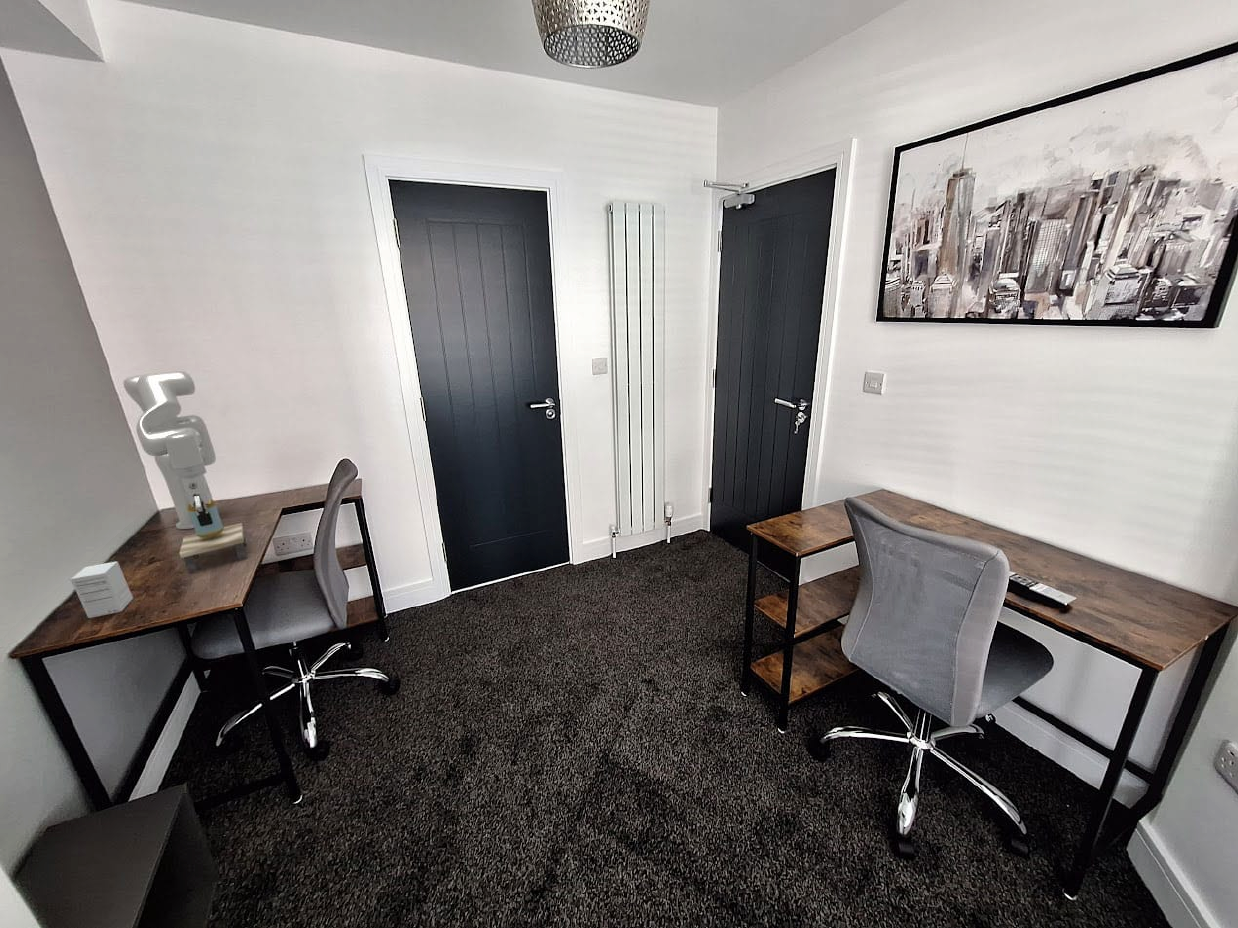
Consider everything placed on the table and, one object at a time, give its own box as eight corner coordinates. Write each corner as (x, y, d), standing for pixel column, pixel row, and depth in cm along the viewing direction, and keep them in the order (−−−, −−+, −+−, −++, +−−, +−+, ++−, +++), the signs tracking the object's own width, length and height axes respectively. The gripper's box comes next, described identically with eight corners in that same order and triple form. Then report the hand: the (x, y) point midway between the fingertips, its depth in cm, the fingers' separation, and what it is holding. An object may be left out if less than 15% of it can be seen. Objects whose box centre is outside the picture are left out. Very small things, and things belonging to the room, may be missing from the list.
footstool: (190, 556, 167) (183, 536, 165) (247, 541, 176) (241, 523, 174) (187, 574, 155) (179, 553, 152) (248, 558, 164) (242, 538, 161)
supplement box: (101, 605, 140) (84, 566, 136) (134, 598, 143) (118, 560, 139) (86, 619, 133) (68, 579, 130) (121, 611, 136) (105, 572, 132)
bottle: (192, 537, 160) (177, 495, 155) (212, 528, 167) (199, 487, 162) (209, 539, 159) (194, 496, 154) (229, 529, 165) (216, 488, 160)
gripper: (203, 474, 151) (220, 526, 157) (206, 462, 164) (222, 510, 170) (172, 480, 147) (190, 533, 153) (177, 467, 160) (194, 516, 166)
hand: (207, 521), depth 161 cm, fingers closed on bottle, 6 cm apart
